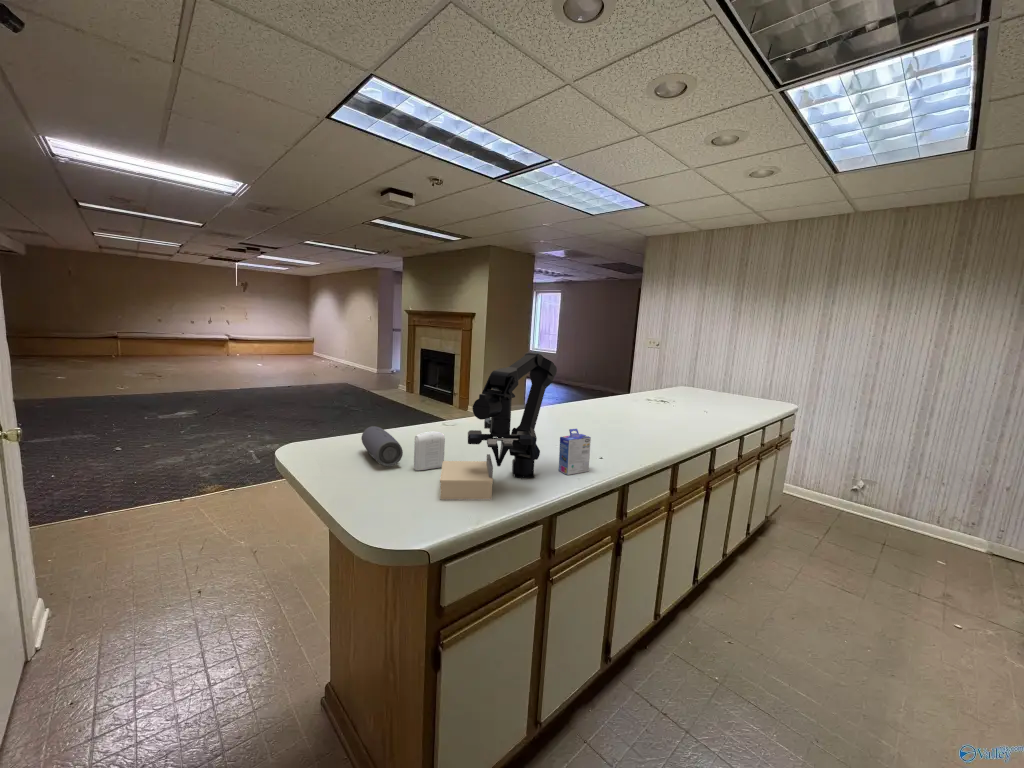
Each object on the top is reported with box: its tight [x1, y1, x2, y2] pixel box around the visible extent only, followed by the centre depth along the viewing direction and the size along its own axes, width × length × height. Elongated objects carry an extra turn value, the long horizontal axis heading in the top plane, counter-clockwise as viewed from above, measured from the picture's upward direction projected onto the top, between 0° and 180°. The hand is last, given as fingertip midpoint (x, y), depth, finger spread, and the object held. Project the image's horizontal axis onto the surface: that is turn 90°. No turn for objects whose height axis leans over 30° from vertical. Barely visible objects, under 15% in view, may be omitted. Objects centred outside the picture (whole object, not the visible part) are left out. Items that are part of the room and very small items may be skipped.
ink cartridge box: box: [558, 428, 592, 476], centre depth 141 cm, size 10×6×14 cm, turn 122°
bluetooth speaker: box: [360, 425, 404, 467], centre depth 143 cm, size 23×9×10 cm, turn 32°
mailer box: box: [440, 482, 493, 501], centre depth 122 cm, size 14×16×5 cm
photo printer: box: [413, 430, 446, 471], centre depth 137 cm, size 10×4×12 cm, turn 123°
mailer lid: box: [439, 453, 494, 484], centre depth 121 cm, size 14×16×4 cm
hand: (498, 465), depth 122 cm, fingers closed
